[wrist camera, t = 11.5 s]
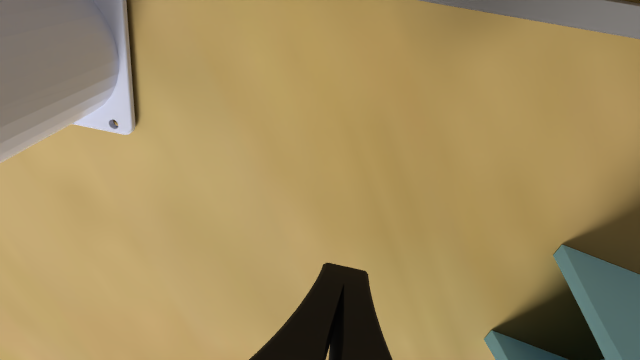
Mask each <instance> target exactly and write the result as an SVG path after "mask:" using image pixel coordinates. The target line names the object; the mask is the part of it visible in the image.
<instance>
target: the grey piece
mask: <svg viewBox="0 0 640 360" xmlns="http://www.w3.org/2000/svg"><path fill="white" fill-rule="evenodd" d="M420 1H426V2H431V3H437V4H443V5H449V6H454V7H460V8H466V9H471V10H477V11H483V12H488V13H494V14H500V15H505V16H511V17H517V18H523V19H528V20H534V21H540V22H545V23H551V24H557V25H562V26H568V27H574V28H579V29H585V30H591V31H597V32H602V33H608V34H614V35H619V36H625V37H631V38H636V39H640V3H634V2H628V1H622V0H420Z"/></svg>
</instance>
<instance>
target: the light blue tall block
mask: <svg viewBox="0 0 640 360" xmlns="http://www.w3.org/2000/svg"><path fill="white" fill-rule="evenodd" d="M553 256H554V258H555V260H556V262H557V264H558V266H559V268H560V270H561V272H562V274H563V276H564V278H565V279H566V281H567V283H568V285H569V287H570V289H571V291H572V293H573V295H574V297H575V299H576V301H577V303H578V305H579V307H580V309H581V311H582V313H583V315H584V317H585V319H586V321H587V323H588V325H589V327H590V329H591V331H592V333H593V335H594V337H595V339H596V341H597V344H598V346H599V348H600V350H601V352H602V354H603V356H604V358H605V359H601V360H640V274H637V273H635V272H632V271H629V270H627V269H624V268H622V267H619V266H617V265H614V264H611V263H609V262H606V261H604V260H601V259H599V258H596V257H593V256H591V255H588V254H586V253H583V252H580V251H578V250H575V249H573V248H570V247H568V246H565V245H561V246H560V248H559V249H558V250H557V251H556V252H555V254H554V255H553ZM484 340H485V342H486V344H487V346H488V347H489V349H490V351H491V352H492V354H493V356H494V358H495V359H496V360H569V359H566V358H563V357H561V356H558V355H555V354H553V353H550V352H548V351H545V350H542V349H540V348H537V347H534V346H532V345H529V344H527V343H524V342H521V341H519V340H516V339H513V338H511V337H508V336H506V335H503V334H500V333H498V332H495V331H492V330H491V331H490V332H489V334H488V335H487V336H486V337H485V338H484Z"/></svg>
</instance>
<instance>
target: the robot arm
mask: <svg viewBox="0 0 640 360" xmlns="http://www.w3.org/2000/svg"><path fill="white" fill-rule="evenodd" d="M113 120H115V121H116V122H117V123H118V126H117V125H115V124H114V122H113ZM71 124H75V125H80V126H85V127H90V128H94V129H99V130H104V131H109V132H114V133H119V134H123V135H128V134H130V133H131V132H133V131H134V129H135V113H134V99H133V86H132V72H131V58H130V45H129V31H128V17H127V4H126V0H0V163H1V162H3V161H5V160H7V159H9V158H11V157H12V156H14V155H16V154H18V153H20V152H22V151H23V150H25V149H27V148H29V147H31V146H32V145H34V144H36V143H38V142H40V141H42V140H43V139H45V138H47V137H49V136H51V135H52V134H54V133H56V132H58V131H60V130H62V129H63V128H65V127H67V126H69V125H71ZM329 345H330V350H329V360H392V357H391V355H390V352H389V350H388V347H387V345H386V342H385V340H384V337H383V334H382V331H381V328H380V325H379V322H378V318H377V315H376V312H375V308H374V305H373V300H372V296H371V292H370V286H369V279H368V274H367V272H366V271H363V270H359V269H354V268H350V267H345V266H340V265H336V264H331V263H326V264H323V267H322V270H321V272H320V274H319V276H318V278H317V280H316V281H315V283H314V285H313V286H312V288H311V290H310V291H309V293H308V294H307V295H306V297H305V298H304V300H303V301H302V303H301V304H300V305H299V307H298V308H297V309H296V311H295V312H294V313H293V314H292V315H291V317H290V318H289V319H288V320H287V322H286V323H285V324H284V325H283V326H282V327H281V329H280V330H279V331H278V332H277V333H276V334H275V335H274V336H273V337H272V338H271V339H270V340H269V341H268V342H267V343H266V344H265V345H264V346H263V347H262V348H261V349H260V350H259V351H258V352H257V353H256V354H255V355H254V356H253V357H251V358H250V359H249V360H326V356H327V353H328V349H329Z"/></svg>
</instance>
